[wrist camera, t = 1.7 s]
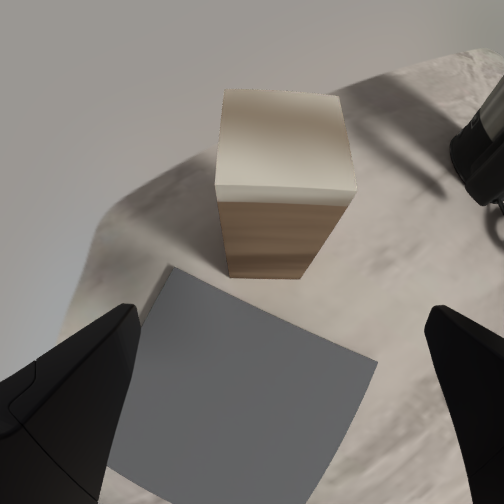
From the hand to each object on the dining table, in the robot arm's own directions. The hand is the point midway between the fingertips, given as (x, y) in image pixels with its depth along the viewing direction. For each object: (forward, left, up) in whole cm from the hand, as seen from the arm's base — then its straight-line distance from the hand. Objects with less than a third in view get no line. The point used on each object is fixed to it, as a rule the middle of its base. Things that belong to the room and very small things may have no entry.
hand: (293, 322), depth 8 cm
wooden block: (+6, +3, -13) cm, 15 cm away
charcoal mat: (-6, 0, -13) cm, 14 cm away
